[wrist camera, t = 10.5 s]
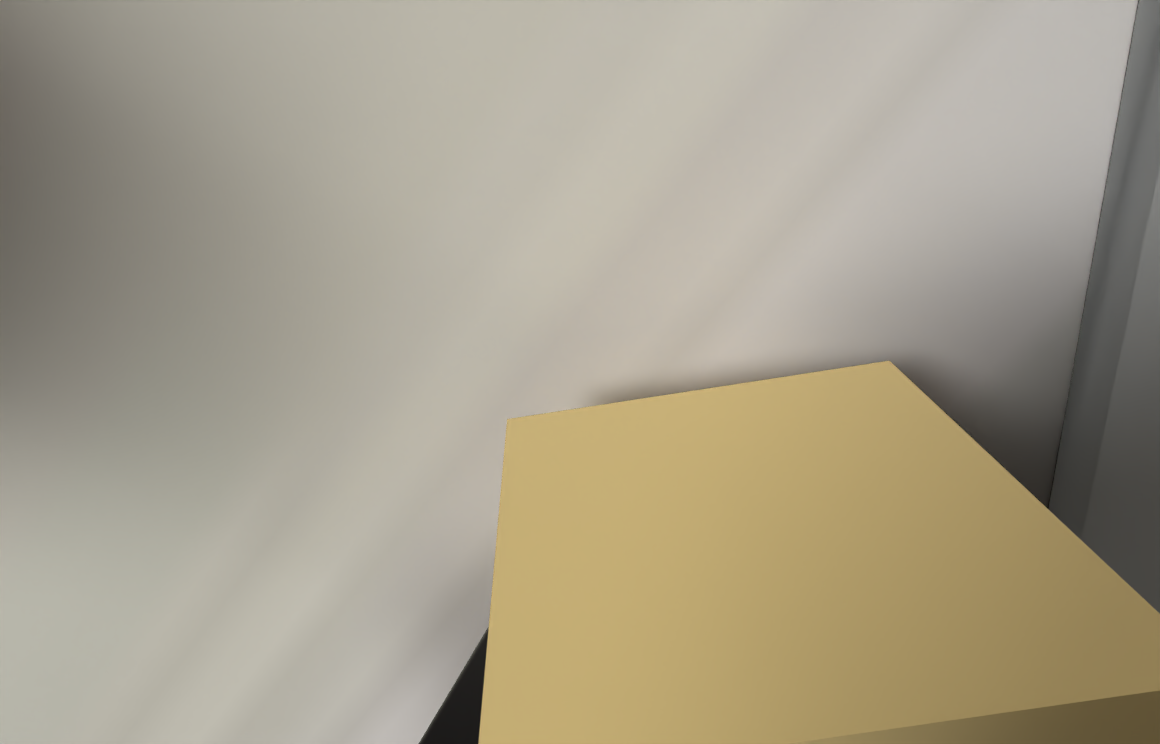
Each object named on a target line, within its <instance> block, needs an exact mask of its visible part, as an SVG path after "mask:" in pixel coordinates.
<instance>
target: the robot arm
mask: <svg viewBox="0 0 1160 744" xmlns="http://www.w3.org/2000/svg"><path fill="white" fill-rule="evenodd" d="M488 630H489V627H488V629H487V630H486V632H485V634H484V635H483V637H482V639H481V640H480V642H479V644H478V645H477V647H476V649H475V650H474V652H473V654H472V656H471V657H470V659H469V661H468V662H467V664H466V666H465V667H464V669H463V671H462V672H461V674H460V676H459V677H458V679H457V681H456V682H455V684H454V686H453V687H452V689H451V691H450V692H449V694H448V696H447V697H446V699H445V701H444V702H443V704H442V706H441V707H440V709H439V711H438V712H437V714H436V716H435V717H434V719H433V721H432V722H431V724H430V726H429V727H428V729H427V731H426V732H425V734H424V736H423V737H422V739H421V741H420V742H419V744H478V743H479V731H480V720H481V709H482V698H483V686H484V675H485V664H486V653H487V641H488Z"/></svg>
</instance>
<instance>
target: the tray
mask: <svg viewBox="0 0 1160 744" xmlns="http://www.w3.org/2000/svg"><path fill="white" fill-rule="evenodd" d="M1048 510H1049V511H1051V512H1052V513H1053V514H1054V515H1055V516H1056V517H1057V518H1058V519H1059V520H1060V521H1061V522H1062V523H1063V524H1064V525H1066V526H1067V527H1068V528H1069V529H1070V530H1071V531H1072V532H1073V533H1074V534H1075V535H1076V536H1077V537H1078V538H1079V539H1080V540H1082V541H1083V542H1084V543H1085V544H1086V545H1087V546H1088V547H1089V548H1090V549H1091V550H1092V551H1093V552H1094V553H1095V554H1097V555H1098V556H1099V557H1100V558H1101V559H1102V560H1103V561H1104V562H1105V563H1106V564H1107V565H1108V566H1109V567H1110V568H1111V569H1113V570H1114V571H1115V572H1116V573H1117V574H1118V575H1119V576H1120V577H1121V578H1122V579H1123V580H1124V581H1125V582H1126V583H1128V584H1129V585H1130V586H1131V587H1132V588H1133V589H1134V590H1135V591H1136V592H1137V593H1138V594H1139V595H1140V596H1141V597H1142V598H1144V599H1145V600H1146V601H1147V602H1148V603H1149V604H1150V605H1151V606H1152V607H1153V608H1154V609H1155V610H1156V611H1157V612H1159V613H1160V0H1139V3H1138V9H1137V14H1136V20H1135V25H1134V31H1133V37H1132V42H1131V48H1130V54H1129V59H1128V65H1127V70H1126V76H1125V82H1124V87H1123V93H1122V98H1121V104H1120V110H1119V115H1118V121H1117V126H1116V132H1115V138H1114V143H1113V149H1112V154H1111V160H1110V166H1109V171H1108V177H1107V183H1106V188H1105V194H1104V199H1103V205H1102V211H1101V216H1100V222H1099V227H1098V233H1097V239H1096V244H1095V250H1094V255H1093V261H1092V267H1091V272H1090V278H1089V283H1088V289H1087V295H1086V300H1085V306H1084V312H1083V317H1082V323H1081V328H1080V334H1079V340H1078V345H1077V351H1076V356H1075V362H1074V368H1073V373H1072V379H1071V384H1070V390H1069V396H1068V401H1067V407H1066V412H1065V418H1064V424H1063V429H1062V435H1061V441H1060V446H1059V452H1058V457H1057V463H1056V469H1055V474H1054V480H1053V485H1052V491H1051V497H1050V502H1049V508H1048Z"/></svg>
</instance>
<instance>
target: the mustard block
mask: <svg viewBox="0 0 1160 744" xmlns="http://www.w3.org/2000/svg"><path fill="white" fill-rule="evenodd" d="M478 744H1160V613H1159V612H1157V611H1156V610H1155V609H1154V608H1153V607H1152V606H1151V605H1150V604H1149V603H1148V602H1147V601H1146V600H1145V599H1144V598H1142V597H1141V596H1140V595H1139V594H1138V593H1137V592H1136V591H1135V590H1134V589H1133V588H1132V587H1131V586H1130V585H1129V584H1128V583H1126V582H1125V581H1124V580H1123V579H1122V578H1121V577H1120V576H1119V575H1118V574H1117V573H1116V572H1115V571H1114V570H1113V569H1111V568H1110V567H1109V566H1108V565H1107V564H1106V563H1105V562H1104V561H1103V560H1102V559H1101V558H1100V557H1099V556H1098V555H1097V554H1095V553H1094V552H1093V551H1092V550H1091V549H1090V548H1089V547H1088V546H1087V545H1086V544H1085V543H1084V542H1083V541H1082V540H1080V539H1079V538H1078V537H1077V536H1076V535H1075V534H1074V533H1073V532H1072V531H1071V530H1070V529H1069V528H1068V527H1067V526H1066V525H1064V524H1063V523H1062V522H1061V521H1060V520H1059V519H1058V518H1057V517H1056V516H1055V515H1054V514H1053V513H1052V512H1051V511H1049V510H1048V509H1047V508H1046V507H1045V506H1044V505H1043V504H1042V503H1041V502H1040V501H1039V500H1038V499H1037V498H1036V497H1035V496H1033V495H1032V494H1031V493H1030V492H1029V491H1028V490H1027V489H1026V488H1025V487H1024V486H1023V485H1022V484H1021V483H1020V482H1018V481H1017V480H1016V479H1015V478H1014V477H1013V476H1012V475H1011V474H1010V473H1009V472H1008V471H1007V470H1006V469H1005V468H1004V467H1002V466H1001V465H1000V464H999V463H998V462H997V461H996V460H995V459H994V458H993V457H992V456H991V455H990V454H989V453H987V452H986V451H985V450H984V449H983V448H982V447H981V446H980V445H979V444H978V443H977V442H976V441H975V440H974V439H973V438H971V437H970V436H969V435H968V434H967V433H966V432H965V431H964V430H963V429H962V428H961V427H960V426H959V425H958V424H957V423H955V422H954V421H953V420H952V419H951V418H950V417H949V416H948V415H947V414H946V413H945V412H944V411H943V410H942V409H940V408H939V407H938V406H937V405H936V404H935V403H934V402H933V401H932V400H931V399H930V398H929V397H928V396H927V395H926V394H924V393H923V392H922V391H921V390H920V389H919V388H918V387H917V386H916V385H915V384H914V383H913V382H912V381H911V380H909V379H908V378H907V377H906V376H905V375H904V374H903V373H902V372H901V371H900V370H899V369H898V368H897V367H896V366H895V365H893V364H892V363H891V362H890V361H884V362H877V363H871V364H864V365H858V366H851V367H845V368H838V369H832V370H825V371H819V372H812V373H806V374H799V375H793V376H786V377H779V378H773V379H766V380H760V381H753V382H747V383H740V384H734V385H727V386H721V387H714V388H708V389H701V390H695V391H688V392H682V393H675V394H669V395H662V396H655V397H649V398H642V399H636V400H629V401H623V402H616V403H610V404H603V405H597V406H590V407H584V408H577V409H571V410H564V411H558V412H551V413H545V414H538V415H531V416H525V417H518V418H512V419H507V428H506V439H505V450H504V461H503V473H502V484H501V495H500V506H499V518H498V529H497V540H496V551H495V563H494V574H493V585H492V596H491V608H490V619H489V630H488V641H487V653H486V664H485V675H484V686H483V698H482V709H481V720H480V731H479V743H478Z"/></svg>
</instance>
